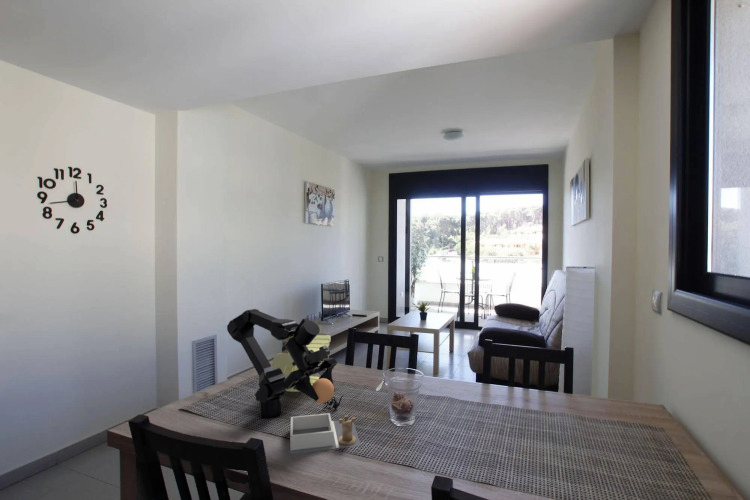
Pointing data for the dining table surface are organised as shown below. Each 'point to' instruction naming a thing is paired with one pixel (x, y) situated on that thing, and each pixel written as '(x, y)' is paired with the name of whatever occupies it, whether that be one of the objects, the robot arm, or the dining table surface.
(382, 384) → the fork
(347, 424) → the ball tee
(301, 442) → the tray
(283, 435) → the dining table surface
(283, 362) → the slatted curved stool
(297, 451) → the grey flat plate
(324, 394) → the ball
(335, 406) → the creature
